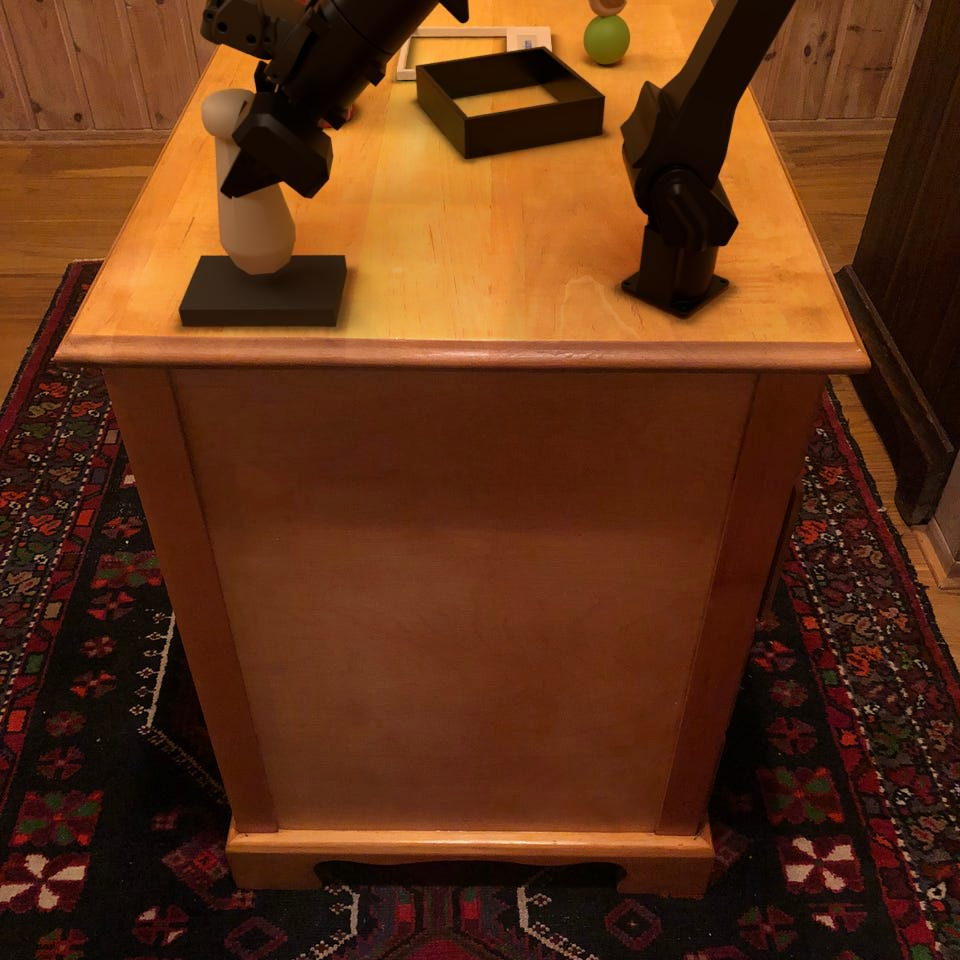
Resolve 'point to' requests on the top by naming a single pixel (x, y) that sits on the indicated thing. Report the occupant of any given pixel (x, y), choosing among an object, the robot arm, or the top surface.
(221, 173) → the salt shaker
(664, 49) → the top surface
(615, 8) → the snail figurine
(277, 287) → the mat
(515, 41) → the photo frame
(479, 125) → the black open square box
